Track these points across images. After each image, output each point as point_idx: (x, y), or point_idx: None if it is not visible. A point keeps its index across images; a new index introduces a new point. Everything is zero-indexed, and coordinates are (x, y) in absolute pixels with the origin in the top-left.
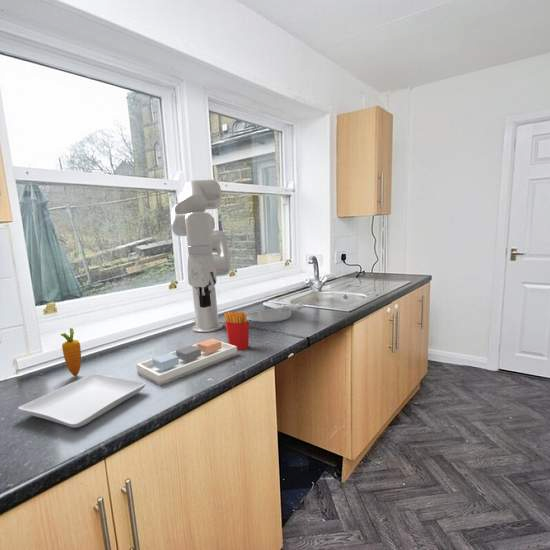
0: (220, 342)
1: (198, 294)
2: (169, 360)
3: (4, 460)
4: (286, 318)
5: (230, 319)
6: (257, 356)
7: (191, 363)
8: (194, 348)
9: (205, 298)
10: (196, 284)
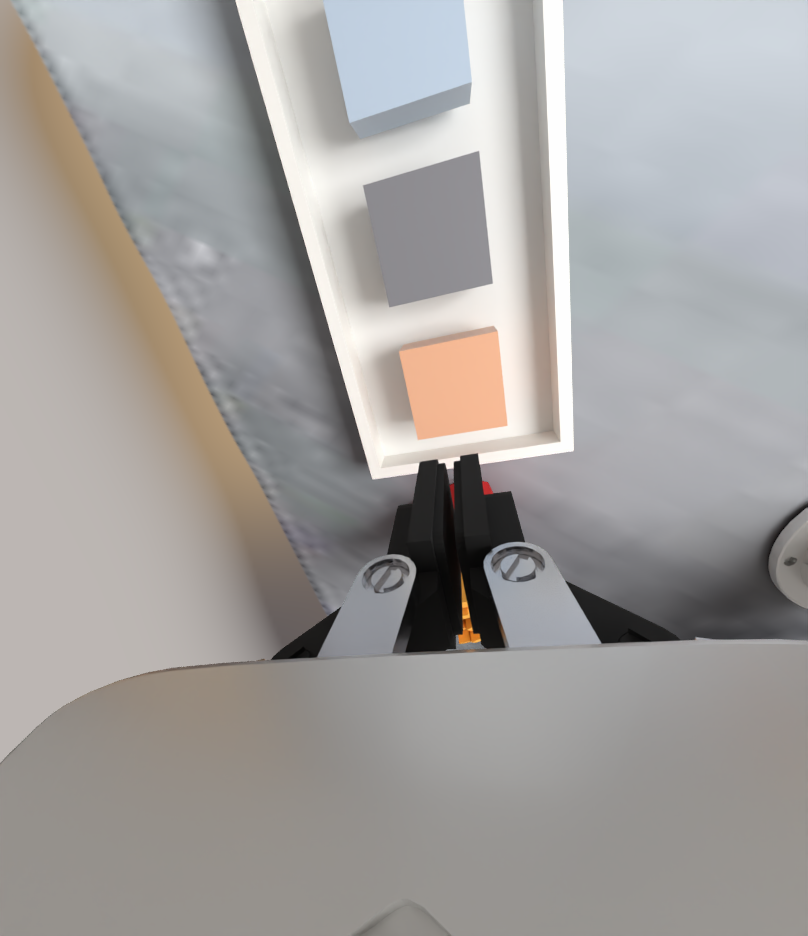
0: (418, 436)
1: (527, 550)
2: (331, 37)
3: None
4: None
5: (461, 576)
6: (313, 502)
7: (292, 198)
8: (421, 278)
9: (390, 549)
10: (390, 699)
